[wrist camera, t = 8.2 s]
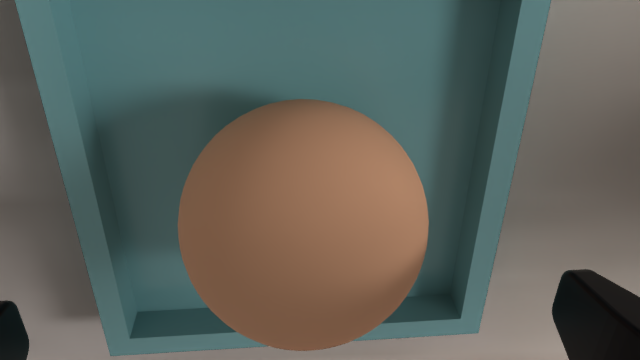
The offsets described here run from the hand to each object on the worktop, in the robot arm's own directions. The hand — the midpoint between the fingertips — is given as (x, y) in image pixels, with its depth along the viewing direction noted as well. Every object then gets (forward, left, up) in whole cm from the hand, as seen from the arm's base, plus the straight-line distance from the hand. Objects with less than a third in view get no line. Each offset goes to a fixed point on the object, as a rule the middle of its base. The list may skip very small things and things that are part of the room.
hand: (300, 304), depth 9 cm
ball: (0, 0, -5) cm, 5 cm away
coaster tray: (0, 0, -5) cm, 5 cm away
